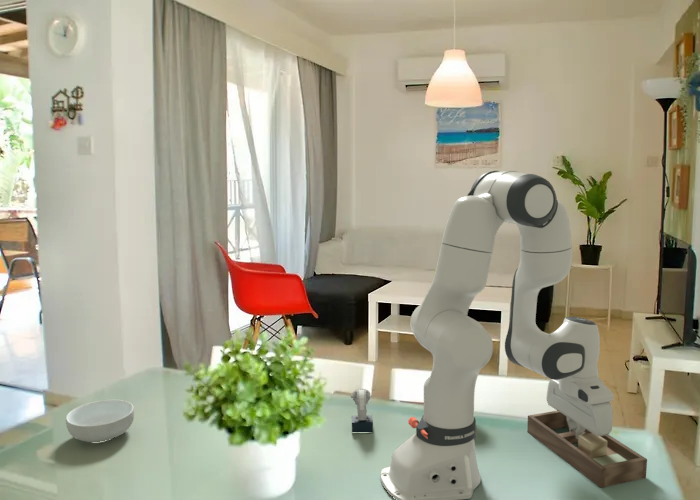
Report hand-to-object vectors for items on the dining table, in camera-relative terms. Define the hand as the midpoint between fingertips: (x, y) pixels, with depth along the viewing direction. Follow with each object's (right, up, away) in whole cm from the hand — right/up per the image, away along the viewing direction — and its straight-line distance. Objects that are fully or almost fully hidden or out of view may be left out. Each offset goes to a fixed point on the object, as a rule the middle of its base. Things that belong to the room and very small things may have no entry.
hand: (576, 436), depth 149 cm
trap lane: (+1, -3, -2) cm, 4 cm away
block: (+2, -2, -5) cm, 6 cm away
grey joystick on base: (-52, -2, +13) cm, 54 cm away
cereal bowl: (-121, -4, +13) cm, 122 cm away
